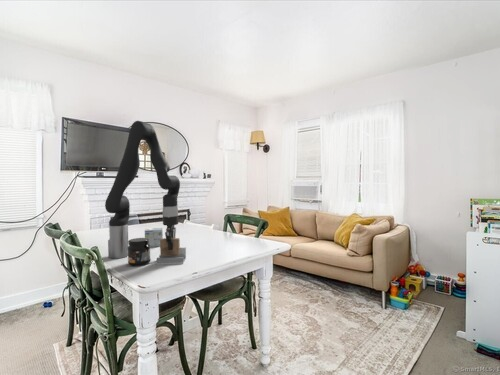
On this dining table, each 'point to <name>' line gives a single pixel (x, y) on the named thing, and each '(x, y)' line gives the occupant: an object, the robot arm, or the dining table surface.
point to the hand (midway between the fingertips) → (171, 249)
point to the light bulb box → (154, 236)
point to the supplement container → (138, 252)
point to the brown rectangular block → (164, 247)
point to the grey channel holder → (172, 258)
